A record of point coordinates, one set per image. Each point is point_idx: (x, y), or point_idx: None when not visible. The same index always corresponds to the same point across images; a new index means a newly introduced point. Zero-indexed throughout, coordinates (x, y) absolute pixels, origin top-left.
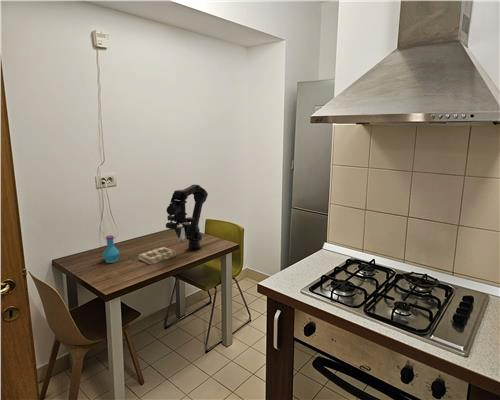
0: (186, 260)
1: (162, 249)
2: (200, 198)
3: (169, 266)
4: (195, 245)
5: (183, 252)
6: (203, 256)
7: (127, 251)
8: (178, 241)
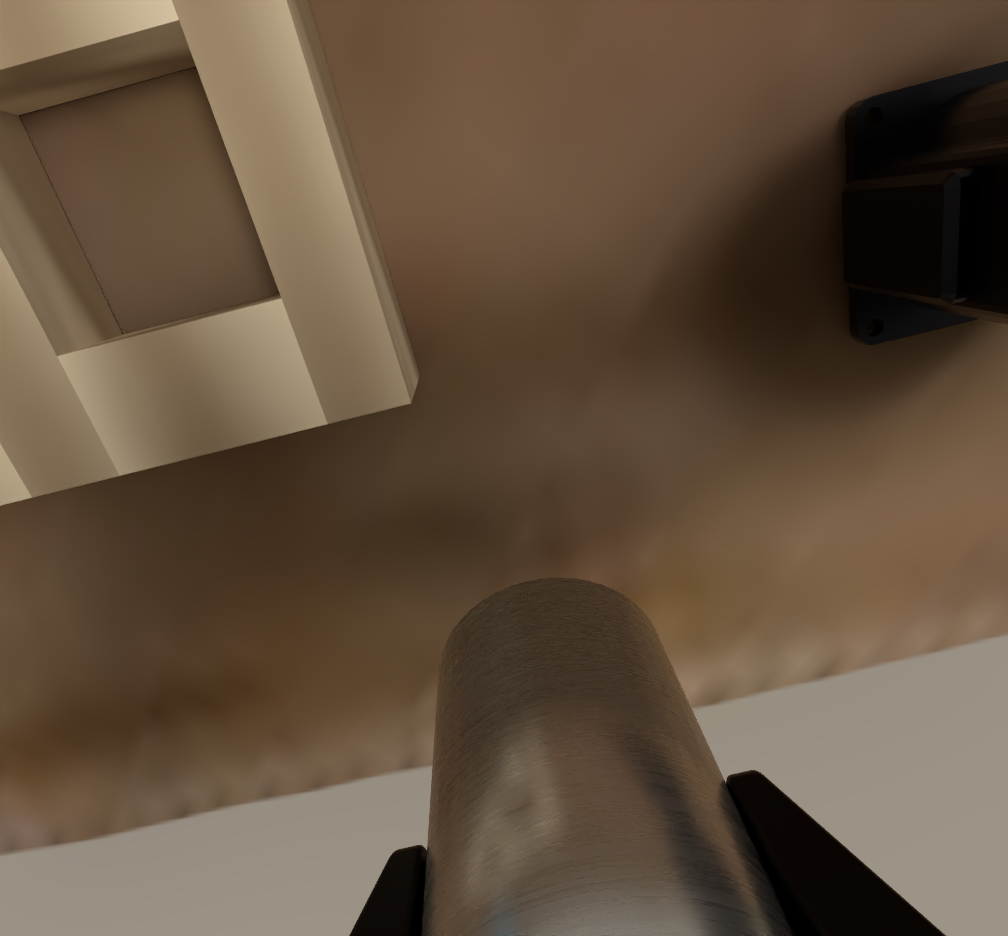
0: None
1: (136, 33)
2: None
3: (166, 723)
4: (990, 319)
5: (637, 288)
6: (785, 658)
7: None
8: (445, 650)
